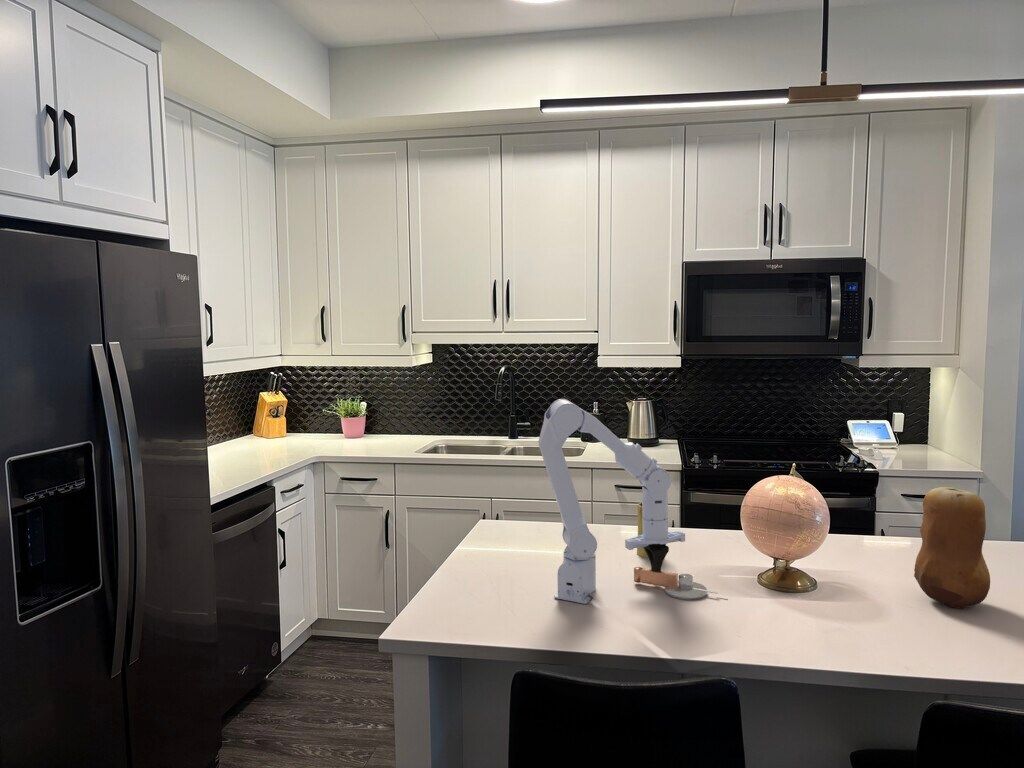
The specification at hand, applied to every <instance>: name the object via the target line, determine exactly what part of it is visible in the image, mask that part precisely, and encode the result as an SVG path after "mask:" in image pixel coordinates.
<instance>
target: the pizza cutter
mask: <svg viewBox="0 0 1024 768" xmlns="http://www.w3.org/2000/svg"><path fill="white" fill-rule="evenodd" d="M693 577H694V576H693V575H692V574H691V573H690V574H689V573H680V574H678V573H676V572H669V571H665V570H661V571H658V570H652V569H651V568H644V567H641V566H635V567H633V582H635V583H636V584H646V585H651V586H658V587H663V588H664V593H665V594H666V595H667V596H668V597H671V598H674V599H677V600H681V601H682V600H683V601H696V600H701V599H704V598H706V596H707V594H708V593H709V594H716V595H717V594H718V593H719V592H718V591H714V590H708V588H707V587H706V586H705V585H704V584H702V583H698V582H697V581H694V579H693Z"/></svg>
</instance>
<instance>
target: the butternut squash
mask: <svg viewBox="0 0 1024 768" xmlns="http://www.w3.org/2000/svg"><path fill="white" fill-rule="evenodd" d="M922 509H923V510H922V511H923V514H922V523H921V526H920V528H919V532H920V536H921V541H922V542H921V545H920V548H919V551H918V553H917V556H916V558H915V564H914V568H913V569H914V574H913V577H914V578H915V580H916V582H917V583H918V586H919V587H920V589H921V590H922V592H924V594H925V595H926V596H927V597H929V598H930V599H932V600H934V601H936V602H939V603H942V604H944V605H945V606H947V607H948V608H955V609H960V610H962V609H964V608H967V607H968V608H969V607H974V606H977V605H980V604H981V603H982V602H984V600H986V598H987V596H988V594H989V592H990V589H991V575H990V571H989V568H988V565H987V563H986V560H985V558H984V555H983V545H984V541H985V535H986V526H987V525H986V524H987V523H986V506H985V503H984V501H983V499H982V498H981V497H980V496H979V495H978V494H977V493H974V492H971V491H967V490H963V489H959V488H956V487H951V486H941V487H935V488H932V489H930V490H929V491H928V492H926V494H925V496H924V498H923V500H922Z"/></svg>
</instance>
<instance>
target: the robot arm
mask: <svg viewBox="0 0 1024 768" xmlns="http://www.w3.org/2000/svg"><path fill="white" fill-rule="evenodd" d="M576 431H578V432H580V433H586V434H591V436H593V437H594V438H595V439H597V440H598V441H599V442H600V443H602V444H603V445H605V447H607V448H608V449H609V450H611V451H612V452H613V453H614V457H615V458H614V460H615V463H617V464H618V465H619V466H620V467H621V468H622V469H623V470H625V471H626V472H628V474H630V475H631V476H632V477H633V478H635V480H638V482H639V483H640V485H643V486H642V487H641V488H642V491H641V493H642V494H641V495H642V496H641V503H642V523H643V535H640V536H638V535H637V536H634V537H631V538H627V539H625V538H624V539H625V540H624V544H625V546H624V547H625V549H627V550H628V551H633V550H634V549H637V548H639V547H643V548H644V550H645V552H646V553H647V555H648V557H647V558H648V559H649V563H650V569H652V570H658V571H662V565H663V563H664V561H665V558H666V556H667V554H669V550H670V547H669V546H668V544H671V543H678V542H681V543H683V542H684V543H685V542H686V533H685V532H683V531H681V530H679V531H669V505H668V504H669V498H668V490H669V489H670V488H671V485H672V479H671V477H670V473H669V472H668V471H667V470H665V468H662V467H661V466H660V465H659V464H658V460H657V459H655V458H654V457H653V458H651V457H650V456H649V455H648V454H647V453H646V452H644V451H643V450H642V449H643V447H642V446H641V445H640V444H639V443H636V444H635V443H634V442H633V441H632V442H623V441H622V440H621V439H620V438H619V437H618V436H617V435H616V434H614V433H613V432H612V431H611V430H610V429H609V428H608V427H607V426H606V425H604V424H603V423H602V422H601V421H600V420H599V419H598V418H597V417H596V416H594V415H592V414H591V413H589V412H588V411H586V410H584V409H582V408H581V407H579V406H578V405H576V404H575V403H573V402H571V401H570V400H568V399H567V398H559V399H557V400H554V401H553V402H552V403H551V404H550V406H549V407H548V408H547V410H546V411H545V413H544V418H543V423H542V426H541V430H540V434H539V437H538V441H537V443H538V447H539V451H540V454H541V455H542V459H543V462H544V465H545V469H546V472H547V476H548V478H549V482H550V485H551V487H552V490H553V495H554V497H555V500H556V504H557V506H558V510H559V513H560V516H561V523H562V526H563V527H562V528H563V529H562V539H563V541H564V543H565V545H566V547H565V548H564V550H563V559H562V563H561V565H560V566H559V567H558V570H557V593H555V595H554V596H553V597H554V599H558V600H564V601H569V602H573V603H574V602H575V603H577V604H578V603H579V604H584V605H587V604H589V602H591V600H592V599H593V598H594V597H593V596H592V595H591V593H593V592H595V591H596V588H597V587H596V586H597V584H596V583H597V576H596V575H597V574H596V573H597V572H596V571H597V569H596V565H597V564H596V560H597V559H596V555H597V554H596V551H597V548H598V542H597V538H596V536H594V535H593V533H591V531H590V529H589V527H588V524H587V522H586V519H585V517H584V514H583V512H582V508H581V506H580V502H579V500H578V496H577V495H578V494H577V493H576V490H575V486H574V483H573V479H572V477H571V472H570V470H569V466H568V465H567V460H566V457H565V454H564V450H563V446H564V444H565V443H566V441H567V439H569V436H571V435H572V434H573V433H574V432H576Z"/></svg>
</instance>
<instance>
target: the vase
mask: <svg viewBox="0 0 1024 768" xmlns="http://www.w3.org/2000/svg"><path fill="white" fill-rule="evenodd" d="M640 535H643V523H642V502H639V503H637V536H640ZM637 555H638V556H639V557H642V558H648V555H647V553H646V552H645V550H644V548H643V547H639V548H636V556H637Z"/></svg>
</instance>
